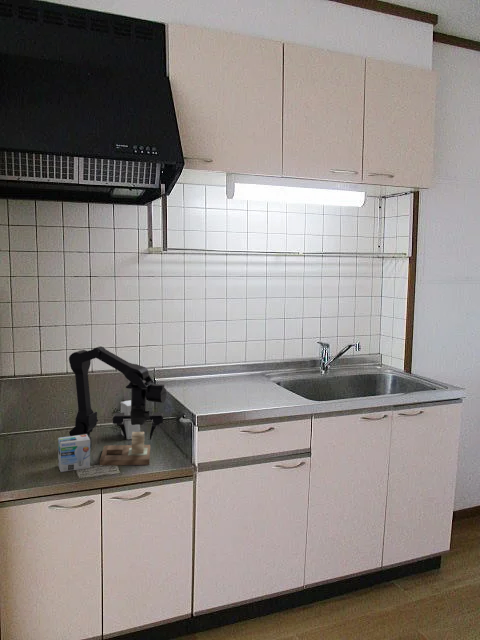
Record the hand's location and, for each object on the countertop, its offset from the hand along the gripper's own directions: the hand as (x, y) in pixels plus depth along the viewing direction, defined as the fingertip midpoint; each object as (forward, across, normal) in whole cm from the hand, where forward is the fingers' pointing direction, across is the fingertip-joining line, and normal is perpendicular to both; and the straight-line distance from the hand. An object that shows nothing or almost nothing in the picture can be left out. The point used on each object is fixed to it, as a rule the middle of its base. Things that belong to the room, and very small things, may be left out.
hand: (138, 439), depth 201 cm
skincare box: (+7, -4, +24) cm, 25 cm away
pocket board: (+7, -4, 0) cm, 8 cm away
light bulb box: (+7, -22, -8) cm, 25 cm away
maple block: (+5, 0, 0) cm, 5 cm away
